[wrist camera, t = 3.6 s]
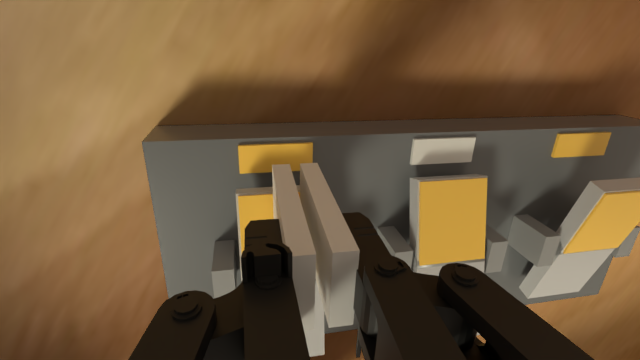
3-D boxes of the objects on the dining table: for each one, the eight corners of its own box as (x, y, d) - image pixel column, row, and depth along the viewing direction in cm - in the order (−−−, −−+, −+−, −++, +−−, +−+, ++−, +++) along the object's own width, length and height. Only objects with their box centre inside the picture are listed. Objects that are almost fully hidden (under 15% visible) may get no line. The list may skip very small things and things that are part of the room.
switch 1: (246, 353, 19) (246, 368, 18) (235, 188, 17) (235, 194, 16) (320, 342, 20) (325, 356, 19) (319, 183, 18) (323, 189, 17)
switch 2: (408, 335, 20) (417, 346, 19) (409, 177, 19) (418, 180, 18) (471, 325, 21) (483, 335, 20) (476, 173, 20) (489, 176, 19)
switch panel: (185, 317, 24) (170, 395, 19) (155, 125, 19) (125, 160, 14) (565, 270, 30) (632, 319, 25) (618, 114, 25) (716, 136, 20)
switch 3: (518, 286, 24) (528, 300, 23) (589, 180, 19) (606, 193, 18) (568, 279, 25) (579, 293, 24) (650, 176, 19) (669, 188, 19)
